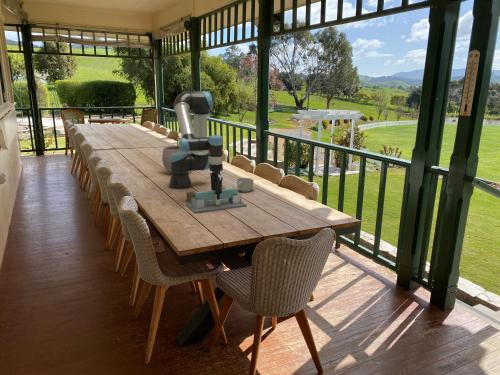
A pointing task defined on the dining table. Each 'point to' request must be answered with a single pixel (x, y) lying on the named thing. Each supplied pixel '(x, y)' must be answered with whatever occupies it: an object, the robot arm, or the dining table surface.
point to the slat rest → (191, 195)
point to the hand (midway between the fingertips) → (216, 203)
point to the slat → (211, 194)
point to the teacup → (245, 184)
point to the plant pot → (167, 155)
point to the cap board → (216, 206)
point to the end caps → (200, 203)
